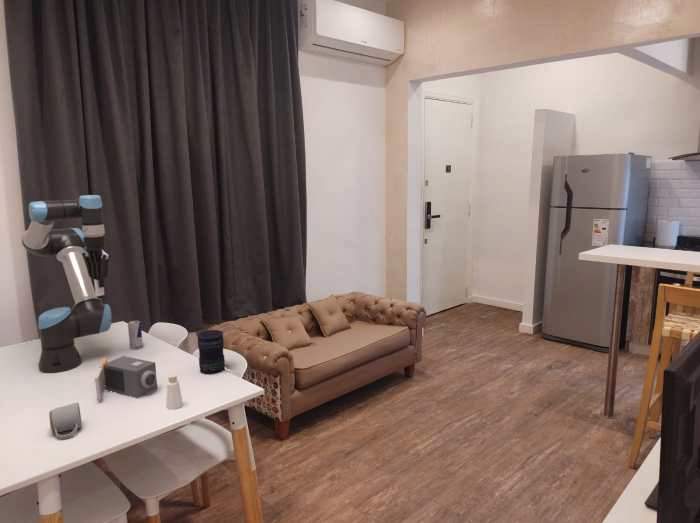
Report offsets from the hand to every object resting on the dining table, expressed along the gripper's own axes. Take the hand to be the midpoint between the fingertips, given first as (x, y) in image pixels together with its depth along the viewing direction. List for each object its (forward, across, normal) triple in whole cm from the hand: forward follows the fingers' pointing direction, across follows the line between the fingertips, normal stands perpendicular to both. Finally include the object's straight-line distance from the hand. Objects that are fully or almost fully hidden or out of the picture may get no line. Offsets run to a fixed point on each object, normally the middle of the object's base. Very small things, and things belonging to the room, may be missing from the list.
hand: (100, 295), depth 198 cm
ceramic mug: (+31, +31, -40) cm, 59 cm away
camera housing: (+30, +26, -11) cm, 41 cm away
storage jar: (+31, +40, +16) cm, 53 cm away
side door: (+29, +17, -16) cm, 37 cm away
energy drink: (+31, -8, +22) cm, 39 cm away
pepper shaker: (+31, +49, -14) cm, 59 cm away
